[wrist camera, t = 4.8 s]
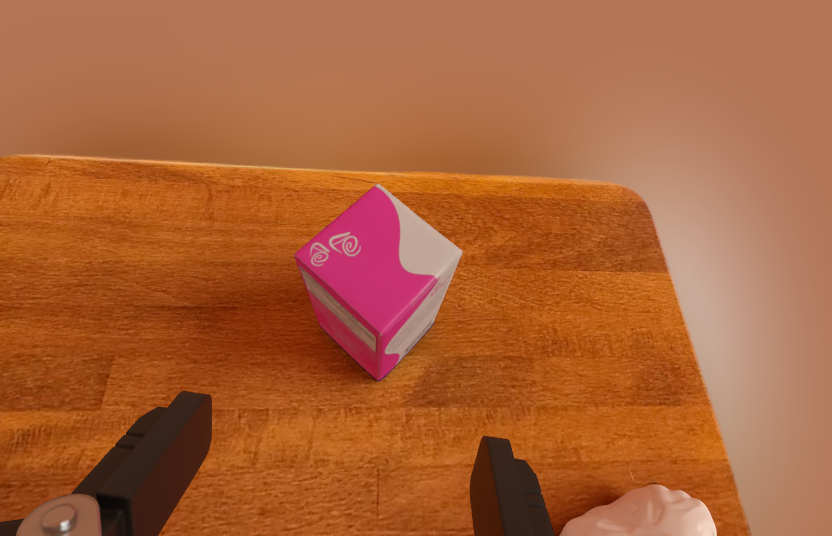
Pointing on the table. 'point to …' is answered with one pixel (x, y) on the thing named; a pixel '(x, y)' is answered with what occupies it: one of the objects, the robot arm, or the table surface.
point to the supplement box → (377, 279)
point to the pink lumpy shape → (646, 516)
